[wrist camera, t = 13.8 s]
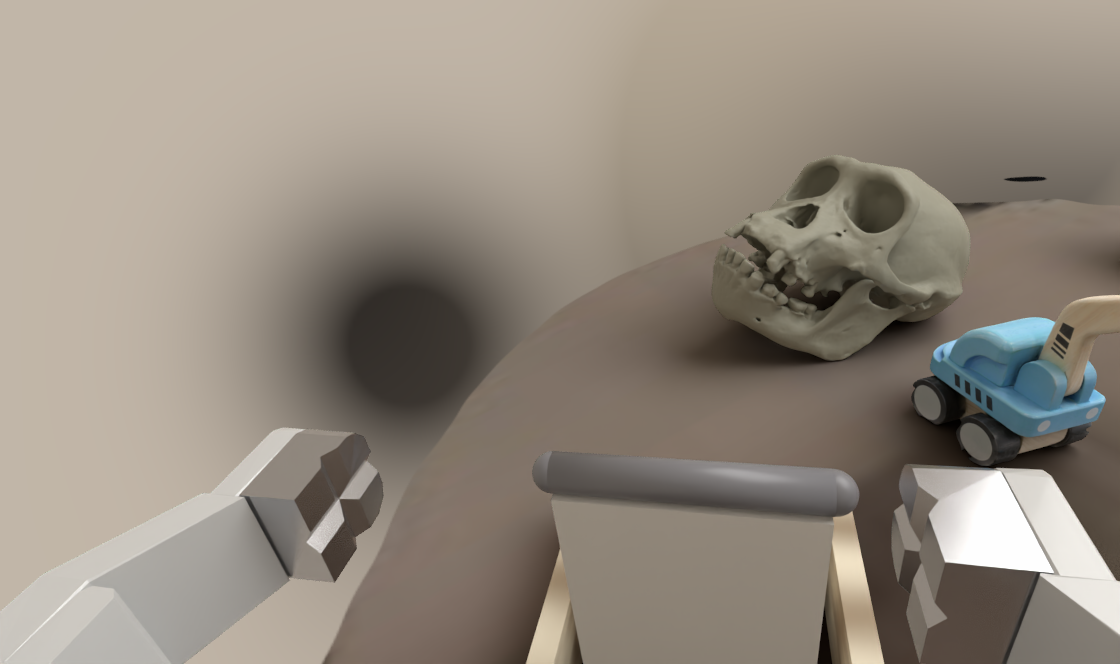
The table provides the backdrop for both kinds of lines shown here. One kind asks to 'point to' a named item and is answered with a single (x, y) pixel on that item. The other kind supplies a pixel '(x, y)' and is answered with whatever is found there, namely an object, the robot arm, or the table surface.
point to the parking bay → (845, 606)
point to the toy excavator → (1020, 382)
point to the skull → (844, 257)
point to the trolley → (694, 556)
